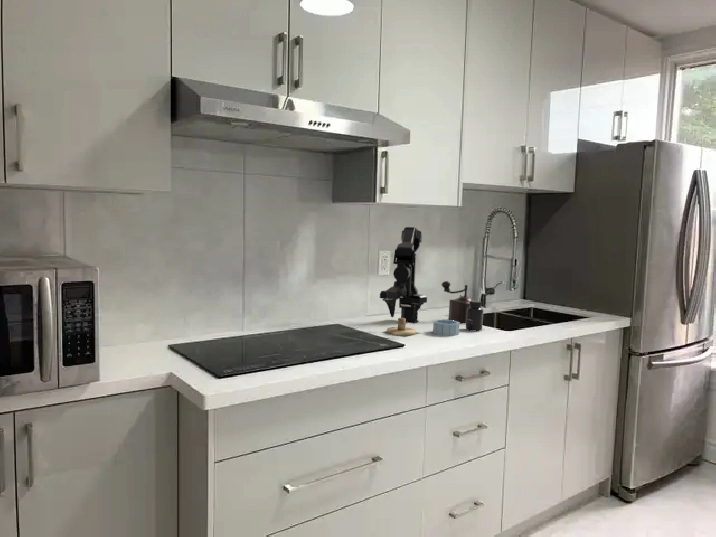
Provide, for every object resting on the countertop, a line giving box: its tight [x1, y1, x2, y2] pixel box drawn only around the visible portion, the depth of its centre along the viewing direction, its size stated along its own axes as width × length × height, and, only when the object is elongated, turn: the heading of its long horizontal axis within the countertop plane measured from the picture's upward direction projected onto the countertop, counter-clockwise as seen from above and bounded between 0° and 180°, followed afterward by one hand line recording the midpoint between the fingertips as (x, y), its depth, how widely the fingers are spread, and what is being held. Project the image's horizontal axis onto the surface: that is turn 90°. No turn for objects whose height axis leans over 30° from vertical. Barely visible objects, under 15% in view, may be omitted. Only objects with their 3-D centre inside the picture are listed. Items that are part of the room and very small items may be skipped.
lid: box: [386, 317, 417, 337], centre depth 213 cm, size 11×11×6 cm
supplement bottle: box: [465, 300, 484, 332], centre depth 228 cm, size 7×7×12 cm
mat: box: [381, 330, 421, 338], centre depth 214 cm, size 11×11×1 cm
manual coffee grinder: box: [441, 280, 475, 324], centre depth 247 cm, size 16×11×18 cm
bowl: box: [432, 319, 460, 337], centre depth 216 cm, size 10×10×5 cm
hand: (401, 318), depth 213 cm, fingers open, 9 cm apart
